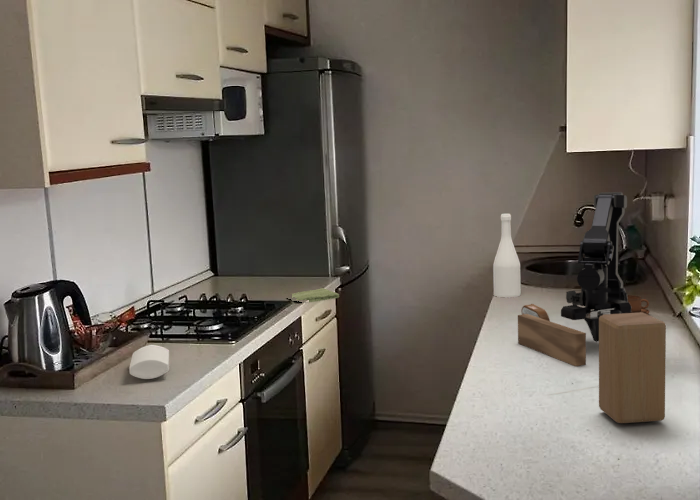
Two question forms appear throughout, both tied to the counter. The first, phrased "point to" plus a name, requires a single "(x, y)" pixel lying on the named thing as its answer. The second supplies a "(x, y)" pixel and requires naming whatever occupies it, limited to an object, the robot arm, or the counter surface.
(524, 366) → the counter surface
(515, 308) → the counter surface
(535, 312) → the tin
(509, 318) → the counter surface
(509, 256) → the wine bottle
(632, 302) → the cup and saucer
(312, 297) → the washcloth
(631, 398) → the wooden block
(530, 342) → the walnut board
